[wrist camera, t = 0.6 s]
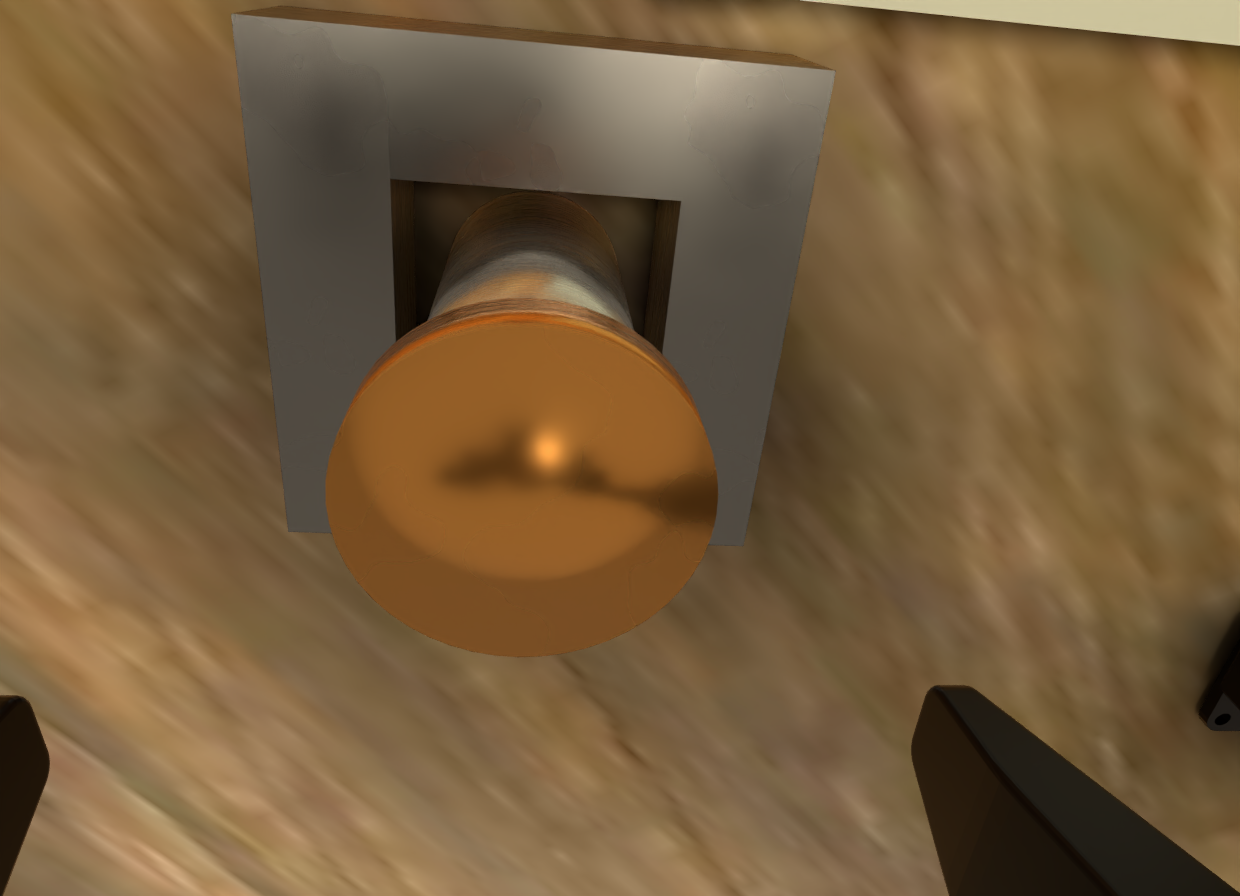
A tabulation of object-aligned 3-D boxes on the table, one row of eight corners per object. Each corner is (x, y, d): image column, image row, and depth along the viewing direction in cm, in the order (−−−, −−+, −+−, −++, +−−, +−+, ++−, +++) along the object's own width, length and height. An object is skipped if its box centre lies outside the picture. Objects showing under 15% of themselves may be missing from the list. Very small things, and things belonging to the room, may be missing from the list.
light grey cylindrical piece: (656, 171, 19) (747, 339, 10) (633, 384, 21) (691, 660, 13) (417, 152, 18) (310, 313, 10) (422, 373, 20) (337, 654, 12)
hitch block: (792, 54, 18) (835, 70, 15) (720, 477, 22) (743, 546, 20) (281, 5, 16) (231, 14, 14) (319, 461, 21) (288, 531, 19)
